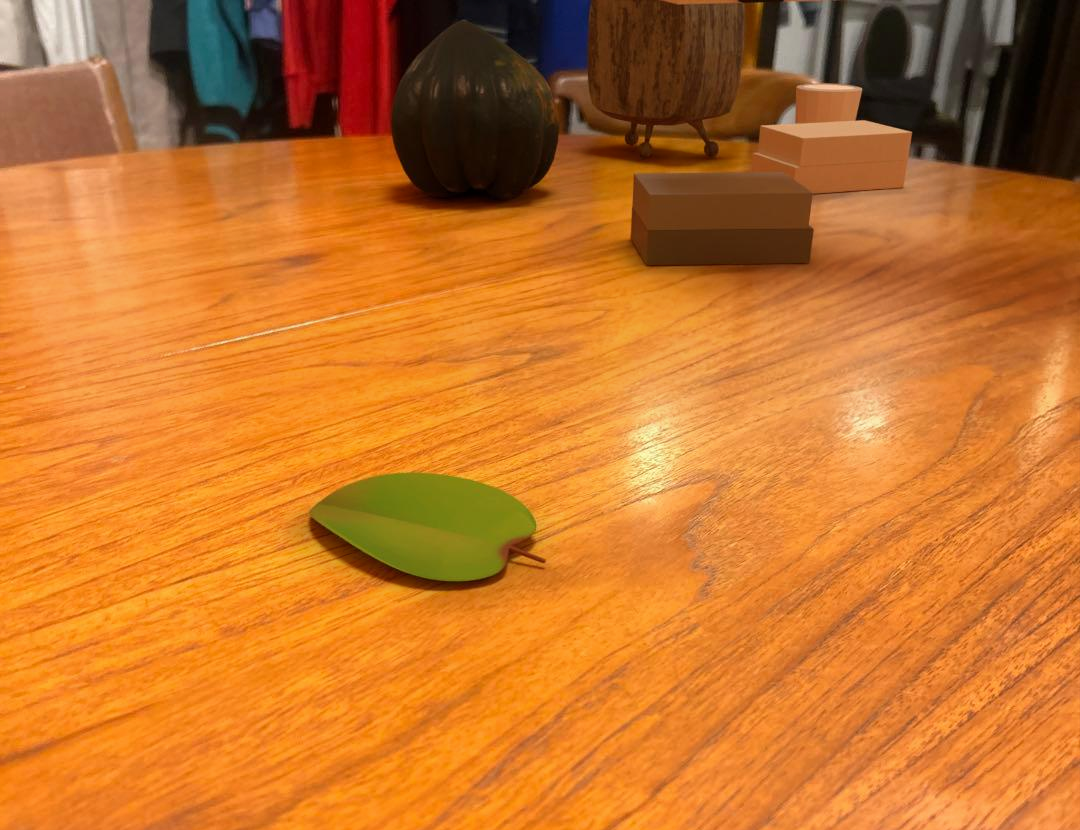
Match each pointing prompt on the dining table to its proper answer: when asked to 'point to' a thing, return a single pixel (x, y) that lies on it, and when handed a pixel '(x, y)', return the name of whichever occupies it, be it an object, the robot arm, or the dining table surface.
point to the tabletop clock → (664, 63)
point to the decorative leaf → (429, 524)
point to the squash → (473, 117)
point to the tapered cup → (826, 103)
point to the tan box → (720, 1)
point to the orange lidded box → (835, 155)
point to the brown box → (721, 218)
